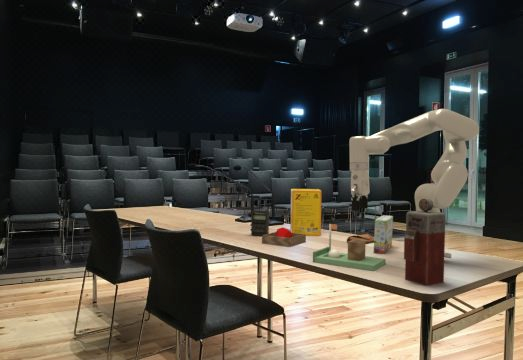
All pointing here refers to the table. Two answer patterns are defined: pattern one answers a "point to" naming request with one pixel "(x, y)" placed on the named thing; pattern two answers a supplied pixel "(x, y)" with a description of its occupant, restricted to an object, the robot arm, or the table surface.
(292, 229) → the packaging box
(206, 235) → the table surface
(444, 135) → the robot arm
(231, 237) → the table surface
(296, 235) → the display frame
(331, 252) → the ball
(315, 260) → the green
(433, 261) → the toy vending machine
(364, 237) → the sunglasses case
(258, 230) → the geiger counter
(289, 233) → the gemstone
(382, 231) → the snack box
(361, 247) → the block
